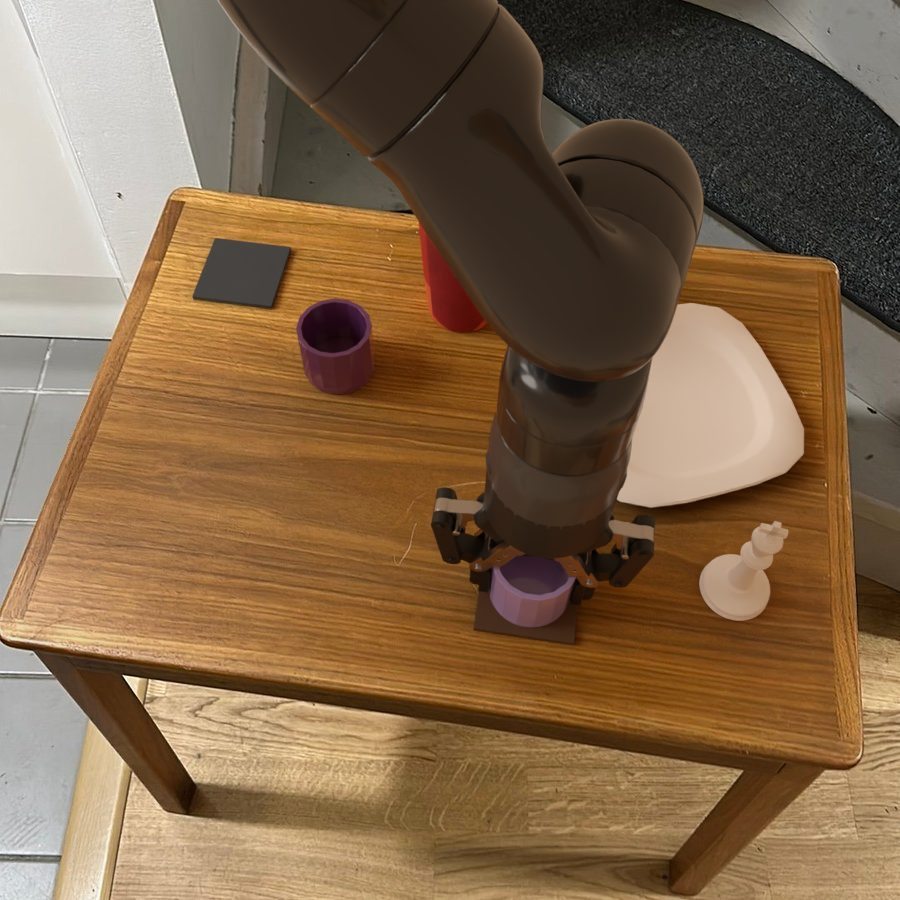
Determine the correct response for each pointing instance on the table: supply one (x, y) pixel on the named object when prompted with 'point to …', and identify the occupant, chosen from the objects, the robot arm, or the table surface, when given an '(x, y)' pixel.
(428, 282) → the coffee cup
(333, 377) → the purple faceted tumbler
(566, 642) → the front mat
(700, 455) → the plate
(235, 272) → the back mat
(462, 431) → the table surface
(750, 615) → the chess piece
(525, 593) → the lavender faceted cup
